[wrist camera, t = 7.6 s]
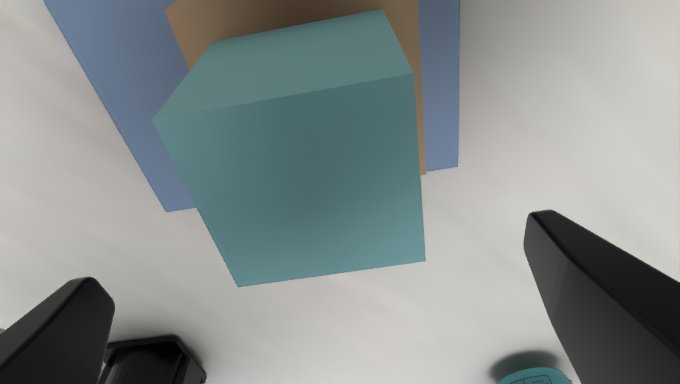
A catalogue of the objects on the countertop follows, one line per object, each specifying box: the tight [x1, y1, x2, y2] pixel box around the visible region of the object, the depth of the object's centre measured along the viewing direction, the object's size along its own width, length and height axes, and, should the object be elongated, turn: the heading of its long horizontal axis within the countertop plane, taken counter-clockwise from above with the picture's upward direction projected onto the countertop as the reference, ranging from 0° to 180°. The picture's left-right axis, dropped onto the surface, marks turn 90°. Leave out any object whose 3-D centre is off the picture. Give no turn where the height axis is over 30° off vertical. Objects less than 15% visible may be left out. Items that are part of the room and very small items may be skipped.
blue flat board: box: [43, 0, 460, 212], centre depth 18 cm, size 16×12×1 cm
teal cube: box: [152, 9, 426, 287], centre depth 11 cm, size 5×5×5 cm
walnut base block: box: [164, 0, 426, 175], centre depth 15 cm, size 7×7×5 cm
